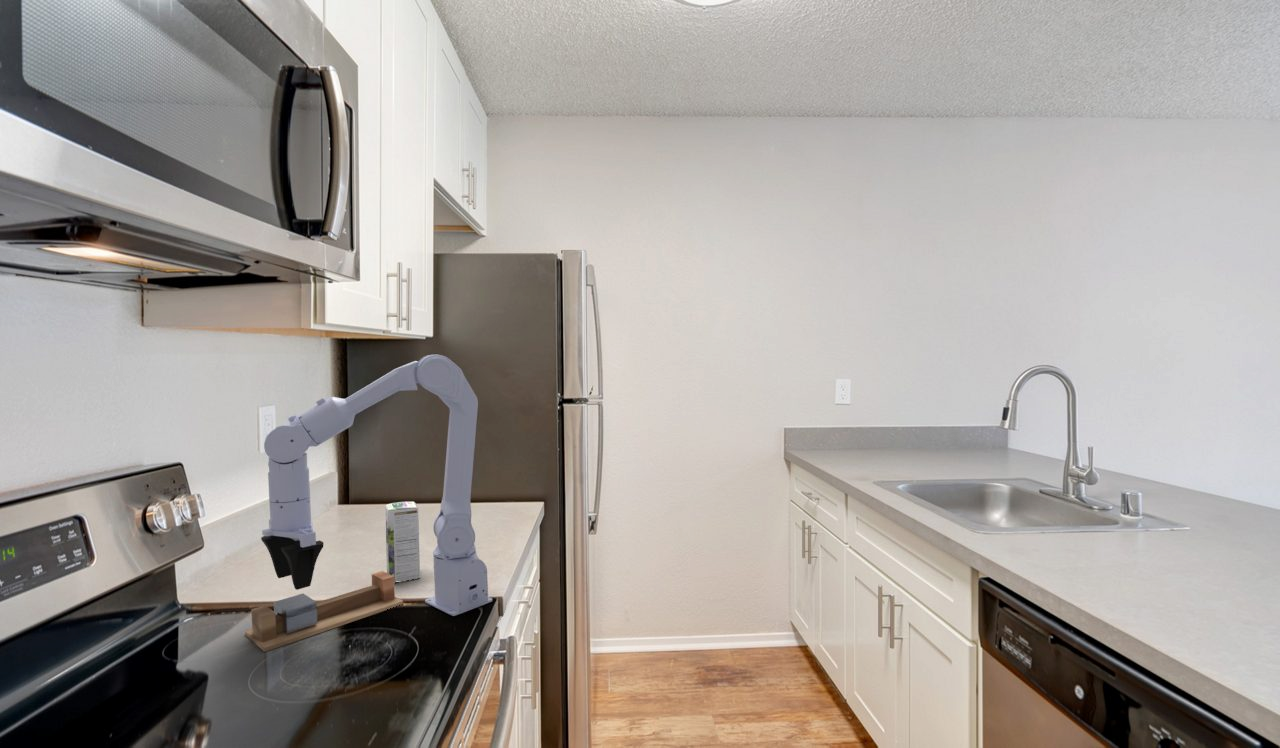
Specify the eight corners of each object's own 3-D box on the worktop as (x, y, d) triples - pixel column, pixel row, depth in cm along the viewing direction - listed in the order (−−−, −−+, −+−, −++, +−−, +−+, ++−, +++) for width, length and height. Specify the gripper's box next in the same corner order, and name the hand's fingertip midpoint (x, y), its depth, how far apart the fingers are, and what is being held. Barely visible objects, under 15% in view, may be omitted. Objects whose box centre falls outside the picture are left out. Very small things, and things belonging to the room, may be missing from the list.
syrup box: (386, 575, 123) (383, 503, 123) (417, 569, 126) (414, 499, 126) (389, 584, 118) (386, 510, 118) (421, 578, 121) (418, 505, 120)
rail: (403, 604, 109) (402, 578, 109) (264, 652, 93) (263, 621, 92) (379, 591, 115) (378, 567, 115) (245, 634, 99) (243, 606, 98)
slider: (317, 623, 100) (316, 601, 100) (287, 633, 96) (286, 611, 96) (304, 614, 104) (303, 593, 103) (274, 623, 100) (273, 602, 100)
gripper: (247, 496, 101) (250, 578, 101) (278, 511, 91) (282, 601, 92) (293, 489, 106) (297, 566, 107) (328, 501, 97) (331, 586, 97)
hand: (293, 581), depth 100 cm, fingers open, 7 cm apart
